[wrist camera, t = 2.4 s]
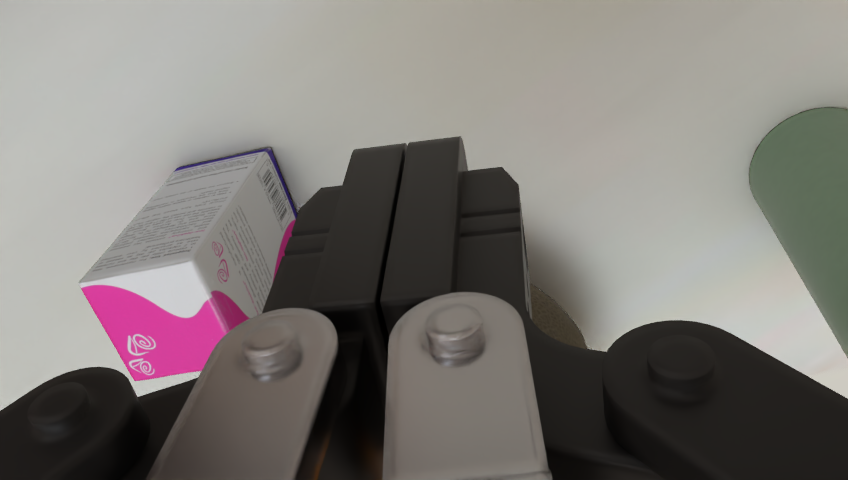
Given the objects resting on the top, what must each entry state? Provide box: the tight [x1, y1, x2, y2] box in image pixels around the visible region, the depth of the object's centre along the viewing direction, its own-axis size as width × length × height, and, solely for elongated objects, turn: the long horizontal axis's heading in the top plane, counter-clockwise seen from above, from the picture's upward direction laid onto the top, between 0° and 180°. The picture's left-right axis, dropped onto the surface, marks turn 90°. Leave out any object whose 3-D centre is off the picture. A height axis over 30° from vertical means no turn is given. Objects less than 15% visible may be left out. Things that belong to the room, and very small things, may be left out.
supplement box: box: [79, 148, 297, 381], centre depth 39 cm, size 6×6×12 cm
